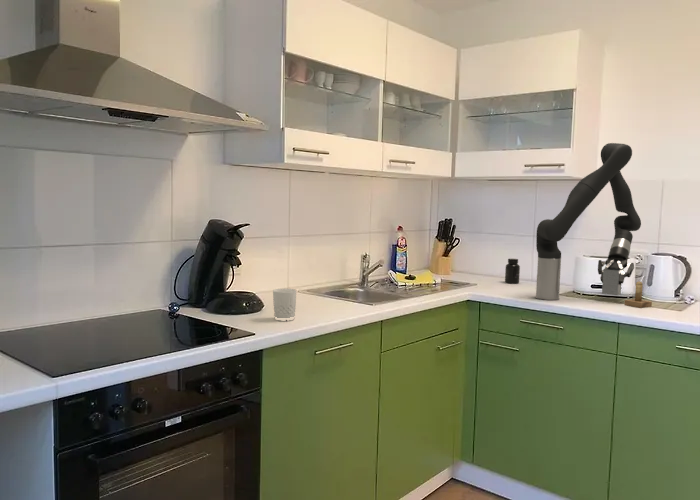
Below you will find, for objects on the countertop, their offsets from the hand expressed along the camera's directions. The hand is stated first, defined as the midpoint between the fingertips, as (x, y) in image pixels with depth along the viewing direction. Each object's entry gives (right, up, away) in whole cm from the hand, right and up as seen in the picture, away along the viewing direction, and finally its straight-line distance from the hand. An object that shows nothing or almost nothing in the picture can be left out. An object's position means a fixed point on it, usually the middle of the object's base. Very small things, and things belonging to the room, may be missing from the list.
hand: (611, 282), depth 239 cm
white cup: (-129, -11, -39) cm, 135 cm away
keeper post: (+8, -9, -5) cm, 13 cm away
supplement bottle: (-26, -3, +51) cm, 58 cm away
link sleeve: (+1, -5, +2) cm, 5 cm away
